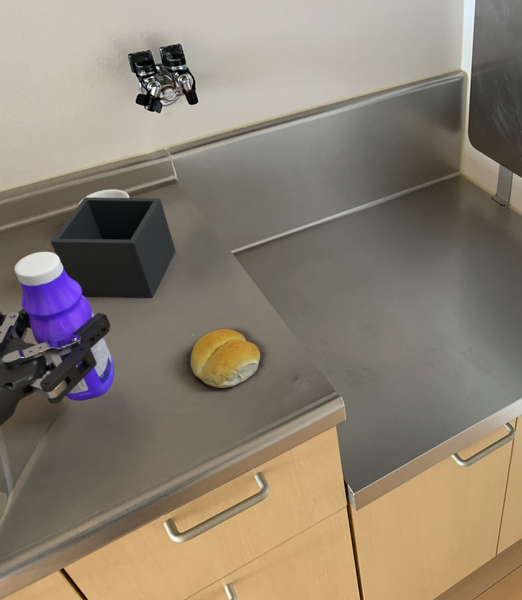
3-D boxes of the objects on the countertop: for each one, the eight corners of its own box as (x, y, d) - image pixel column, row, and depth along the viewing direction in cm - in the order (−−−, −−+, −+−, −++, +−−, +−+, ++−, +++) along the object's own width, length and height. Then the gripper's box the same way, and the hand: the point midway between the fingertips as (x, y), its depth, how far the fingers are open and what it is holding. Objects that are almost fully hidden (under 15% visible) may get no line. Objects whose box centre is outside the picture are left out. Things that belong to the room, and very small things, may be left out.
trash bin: (75, 296, 91) (50, 241, 84) (105, 250, 100) (84, 197, 93) (152, 297, 91) (133, 243, 84) (175, 251, 100) (160, 198, 93)
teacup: (91, 246, 100) (80, 218, 97) (87, 222, 106) (76, 195, 102) (154, 231, 104) (145, 204, 100) (147, 208, 109) (138, 182, 105)
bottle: (67, 364, 73) (9, 247, 62) (117, 354, 75) (69, 238, 63) (62, 410, 68) (-3, 292, 57) (116, 398, 70) (64, 280, 58)
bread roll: (231, 332, 85) (226, 311, 83) (271, 365, 81) (267, 344, 78) (179, 363, 81) (172, 342, 78) (217, 400, 76) (211, 379, 74)
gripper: (-21, 422, 51) (121, 301, 62) (-137, 369, 55) (16, 265, 66) (15, 472, 56) (140, 352, 67) (-93, 421, 60) (42, 316, 71)
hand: (78, 309), depth 67 cm, fingers closed on bottle, 7 cm apart
